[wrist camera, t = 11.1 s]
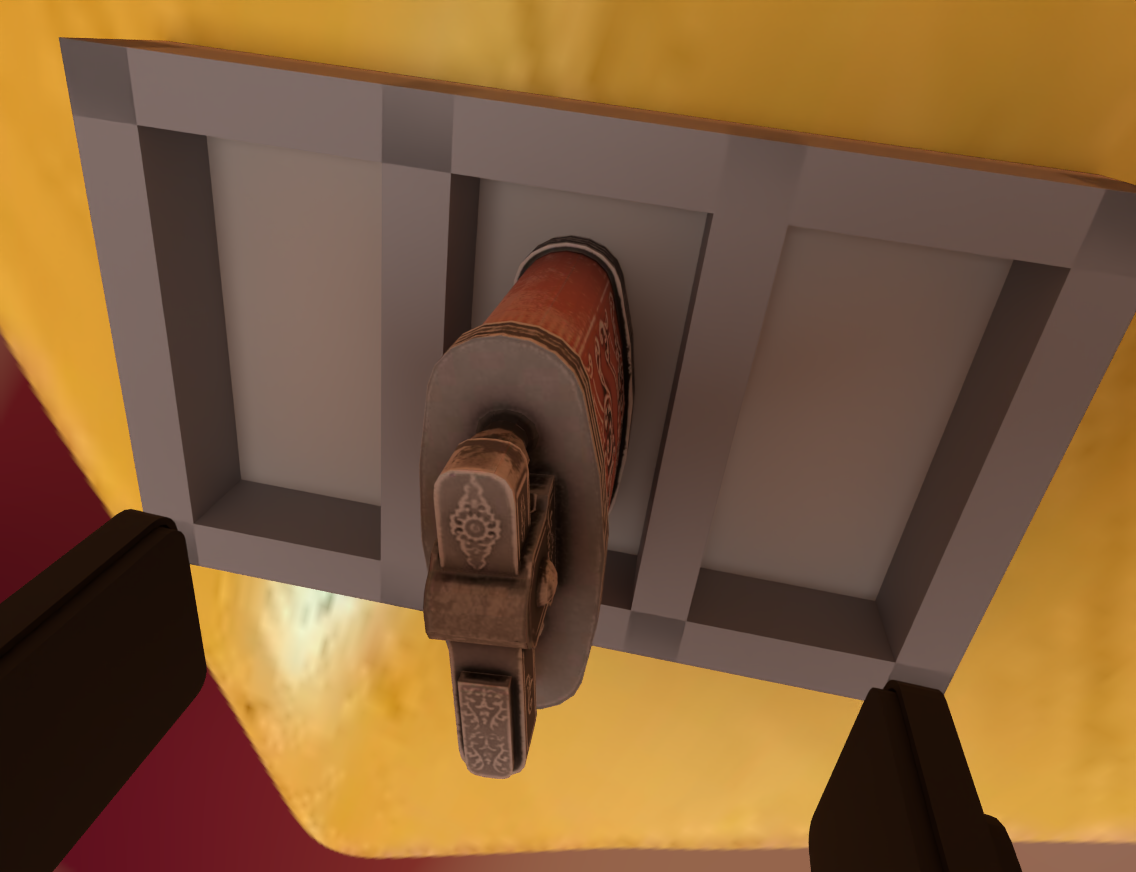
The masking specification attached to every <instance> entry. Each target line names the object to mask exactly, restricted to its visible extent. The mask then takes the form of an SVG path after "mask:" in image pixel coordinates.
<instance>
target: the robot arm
mask: <svg viewBox="0 0 1136 872" xmlns="http://www.w3.org/2000/svg"><path fill="white" fill-rule="evenodd" d="M206 672H207V669H206V661H205V655H204V649H203V643H202V637H201V630H200V624H199V618H198V612H197V606H196V600H195V594H194V588H193V582H192V576H191V570H190V563H189V557H188V551H187V545H186V539H185V536H184V534H183V533H182V532H181V531H178V529H177V526H176V523H175V522H174V521H173V520H172V519H171V518H168V517H164V516H160V515H155V514H151V513H146V512H142V511H137V510H133V509H129V510H124V511H122V512H120V513H119V514H117V515H116V516H114V517H113V518H112V519H110V520H109V521H108V522H106V523H105V524H104V525H103V526H101V527H100V528H99V529H97V530H96V531H95V532H93V533H92V534H91V535H90V536H88V537H87V538H86V539H85V540H83V541H82V542H80V543H79V544H78V545H76V546H75V547H74V548H73V549H71V550H70V551H69V552H67V553H66V554H65V555H63V556H62V557H61V558H59V559H58V560H57V561H56V562H54V563H53V564H52V565H50V566H49V567H48V568H47V569H45V570H44V571H43V572H41V573H40V574H39V575H38V576H36V577H35V578H33V579H32V580H31V581H29V582H28V583H27V584H26V585H24V586H23V587H22V588H20V589H19V590H18V591H16V592H15V593H14V594H12V595H11V596H10V597H9V598H7V599H6V600H5V601H3V602H2V603H1V604H0V872H53V871H54V869H55V868H56V867H57V866H58V865H59V863H60V862H61V861H62V860H63V858H64V857H65V856H66V854H68V852H69V851H70V850H71V849H72V847H73V846H74V845H75V844H76V842H77V841H78V840H79V839H80V838H81V836H82V835H83V834H84V833H85V832H86V830H87V829H88V828H89V827H90V825H91V824H92V823H93V822H94V821H95V819H96V818H97V817H98V816H99V814H100V813H101V812H102V811H103V810H104V808H105V807H106V806H107V804H108V803H109V802H110V801H111V800H112V799H113V797H114V796H115V795H116V794H117V792H118V791H119V790H120V789H121V788H122V786H123V785H124V784H125V783H126V781H127V780H128V779H129V778H130V776H131V775H132V774H133V773H134V772H135V770H136V769H137V768H138V767H139V765H140V764H141V763H142V762H143V761H144V759H145V758H146V757H147V756H148V755H149V753H150V752H151V751H152V750H153V748H154V747H155V746H156V745H157V744H158V742H159V741H160V740H161V739H162V737H163V736H164V735H165V734H166V733H167V731H168V730H169V729H170V728H171V726H172V725H173V724H174V723H175V721H176V720H177V719H178V718H179V717H180V716H181V714H182V713H183V712H184V711H185V709H186V708H187V707H188V706H189V705H190V703H191V702H192V701H193V699H194V698H195V697H196V696H197V694H198V693H199V692H200V690H201V688H202V686H203V684H204V681H205V678H206ZM809 855H810V865H811V872H1022V870H1021V867H1020V864H1019V862H1018V859H1017V856H1016V853H1015V850H1014V848H1013V845H1012V842H1011V840H1010V838H1009V835H1008V833H1007V831H1006V829H1005V827H1004V826H1003V825H1002V824H1001V823H1000V822H999V820H998V819H997V818H995V817H992V816H990V815H986V814H984V812H983V809H982V806H981V803H980V800H979V797H978V794H977V791H976V788H975V785H974V782H973V779H972V776H971V773H970V770H969V767H968V764H967V761H966V758H965V755H964V752H963V749H962V746H961V743H960V740H959V737H958V734H957V731H956V728H955V725H954V722H953V719H952V716H951V713H950V710H949V707H948V704H947V701H946V699H945V697H944V695H943V693H942V692H941V691H940V690H938V689H934V688H929V687H925V686H920V685H916V684H911V683H907V682H902V681H898V680H889V681H888V682H887V683H886V685H885V686H884V688H883V689H879V688H874V687H873V688H871V689H870V690H869V692H868V694H867V696H866V698H865V700H864V703H863V705H862V707H861V709H860V712H859V714H858V716H857V718H856V721H855V723H854V725H853V727H852V730H851V732H850V734H849V736H848V739H847V741H846V743H845V745H844V748H843V750H842V752H841V754H840V757H839V759H838V761H837V763H836V766H835V768H834V770H833V772H832V775H831V777H830V779H829V781H828V783H827V786H826V788H825V790H824V792H823V795H822V797H821V799H820V801H819V804H818V806H817V808H816V810H815V813H814V815H813V818H812V820H811V825H810V831H809Z"/></svg>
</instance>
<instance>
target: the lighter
mask: <svg viewBox="0 0 1136 872" xmlns="http://www.w3.org/2000/svg"><path fill="white" fill-rule="evenodd" d="M634 397H635V370H634V343H633V329H632V323H631V317H630V310H629V304H628V298H627V292H626V286H625V280H624V274H623V271H622V269H621V266H620V264H619V261H618V259H617V258H616V257H615V256H614V255H613V254H612V253H611V252H610V250H609V249H608V248H607V247H605V246H604V245H602V244H600V243H598V242H596V241H594V240H592V239H591V238H586V237H580V236H575V235H568V236H560V237H554V238H551V239H549V240H547V241H545V242H543V243H541V244H539V245H538V246H537V247H536V248H535V249H534V250H533V251H532V252H531V253H530V254H529V255H528V256H527V257H526V259H525V260H524V261H523V262H522V263H521V264H520V266H519V269H518V271H517V274H516V276H515V279H514V285H513V287H512V288H511V290H510V291H509V292H508V293H507V295H506V296H505V297H504V298H503V300H502V301H501V302H500V303H499V305H498V306H497V307H496V308H495V310H494V311H493V312H492V313H491V314H490V316H489V317H488V318H487V319H486V321H485V322H484V323H483V324H482V325H481V326H478V327H476V328H474V329H472V330H470V331H468V332H465V333H463V334H462V335H461V336H460V337H459V338H458V339H457V340H456V342H455V343H454V344H453V345H452V346H451V347H450V348H449V349H448V350H447V351H446V352H445V353H444V355H443V356H442V357H441V358H440V359H439V360H438V362H437V363H436V364H435V365H434V368H433V370H432V373H431V376H430V379H429V382H428V385H427V393H426V402H425V412H424V422H423V431H422V441H421V451H420V460H419V477H420V508H421V540H422V545H423V550H424V555H425V560H426V565H427V571H428V576H427V579H426V584H425V590H424V602H423V613H424V621H425V630H426V633H427V635H428V637H429V639H438V640H446V643H447V646H448V649H449V656H450V666H451V676H452V685H453V695H454V705H455V715H456V725H457V735H458V744H459V751H460V755H461V758H462V760H463V761H464V762H465V763H466V766H467V769H468V770H469V771H470V772H471V773H473V774H475V775H478V776H482V777H488V778H497V779H505V778H509V777H510V776H511V775H512V774H515V773H519V772H520V771H521V770H522V769H523V768H524V767H525V763H526V759H527V755H528V751H529V747H530V743H531V739H532V734H533V730H534V726H535V722H536V716H537V709H543V708H547V707H551V706H555V705H559V704H561V703H563V702H564V701H566V700H567V699H569V698H570V697H572V696H573V695H574V694H575V693H576V691H577V689H578V688H579V686H580V684H581V683H582V679H583V676H584V672H585V668H586V664H587V661H588V657H589V653H590V650H591V646H592V642H593V639H594V635H595V631H596V627H597V623H598V617H599V612H600V606H601V600H602V591H603V582H604V573H605V564H606V555H607V546H608V537H609V524H608V516H609V514H610V512H611V510H612V508H613V507H614V504H615V500H616V496H617V493H618V489H619V485H620V481H621V477H622V473H623V469H624V465H625V462H626V458H627V452H628V446H629V439H630V431H631V422H632V414H633V405H634Z"/></svg>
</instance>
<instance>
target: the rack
mask: <svg viewBox="0 0 1136 872" xmlns="http://www.w3.org/2000/svg"><path fill="white" fill-rule="evenodd" d="M59 41H60V47H61V53H62V58H63V64H64V69H65V75H66V81H67V86H68V92H69V97H70V103H71V109H72V114H73V120H74V125H75V131H76V137H77V142H78V148H79V153H80V159H81V165H82V170H83V176H84V182H85V187H86V193H87V198H88V204H89V210H90V215H91V221H92V226H93V232H94V238H95V243H96V249H97V254H98V260H99V266H100V271H101V277H102V282H103V288H104V294H105V299H106V305H107V311H108V316H109V322H110V327H111V333H112V339H113V344H114V350H115V355H116V361H117V367H118V372H119V378H120V383H121V389H122V395H123V400H124V406H125V411H126V417H127V423H128V428H129V434H130V440H131V445H132V451H133V456H134V462H135V468H136V473H137V479H138V484H139V490H140V496H141V501H142V507H143V512H146V513H151V514H155V515H160V516H164V517H168V518H171V519H172V520H173V521H174V522H175V523H176V526H177V529H178V531H181V532H182V533H183V534H184V536H185V539H186V545H187V551H188V557H189V563H190V564H192V565H197V566H202V567H207V568H212V569H217V570H222V571H227V572H232V573H237V574H242V575H247V576H252V577H257V578H262V579H266V580H271V581H276V582H281V583H286V584H291V585H296V586H301V587H306V588H311V589H316V590H321V591H326V592H331V593H336V594H341V595H345V596H350V597H355V598H360V599H365V600H370V601H375V602H380V603H385V604H390V605H395V606H400V607H405V608H410V609H415V610H419V611H423V602H424V590H425V584H426V579H427V576H428V571H427V565H426V560H425V555H424V550H423V545H422V540H421V508H420V477H419V460H420V451H421V441H422V431H423V422H424V412H425V402H426V393H427V385H428V382H429V379H430V376H431V373H432V370H433V368H434V365H435V364H436V363H437V362H438V360H439V359H440V358H441V357H442V356H443V355H444V353H445V352H446V351H447V350H448V349H449V348H450V347H451V346H452V345H453V344H454V343H455V342H456V340H457V339H458V338H459V337H460V336H461V335H462V334H463V333H465V332H468V331H470V330H472V329H474V328H476V327H478V326H481V325H482V324H483V323H484V322H485V321H486V319H487V318H488V317H489V316H490V314H491V313H492V312H493V311H494V310H495V308H496V307H497V306H498V305H499V303H500V302H501V301H502V300H503V298H504V297H505V296H506V295H507V293H508V292H509V291H510V290H511V288H512V287H513V285H514V279H515V276H516V274H517V271H518V269H519V266H520V264H521V263H522V262H523V261H524V260H525V259H526V257H527V256H528V255H529V254H530V253H531V252H532V251H533V250H534V249H535V248H536V247H537V246H538V245H539V244H541V243H543V242H545V241H547V240H549V239H551V238H554V237H560V236H568V235H575V236H580V237H586V238H591V239H592V240H594V241H596V242H598V243H600V244H602V245H604V246H605V247H607V248H608V249H609V250H610V252H611V253H612V254H613V255H614V256H615V257H616V258H617V259H618V261H619V264H620V266H621V269H622V271H623V274H624V280H625V286H626V292H627V298H628V304H629V310H630V317H631V323H632V329H633V343H634V370H635V397H634V405H633V414H632V422H631V431H630V439H629V446H628V452H627V458H626V462H625V465H624V469H623V473H622V477H621V481H620V485H619V489H618V493H617V496H616V500H615V504H614V507H613V508H612V510H611V512H610V514H609V516H608V524H609V537H608V546H607V555H606V564H605V573H604V582H603V591H602V600H601V606H600V612H599V617H598V623H597V627H596V631H595V635H594V639H593V642H592V646H597V647H602V648H607V649H612V650H617V651H622V652H627V653H632V654H637V655H642V656H647V657H652V658H656V659H661V660H666V661H671V662H676V663H681V664H686V665H691V666H696V667H701V668H706V669H711V670H716V671H721V672H726V673H730V674H735V675H740V676H745V677H750V678H755V679H760V680H765V681H770V682H775V683H780V684H785V685H790V686H795V687H800V688H805V689H809V690H814V691H819V692H824V693H829V694H834V695H839V696H844V697H849V698H854V699H859V700H865V698H866V696H867V694H868V692H869V690H870V689H871V688H873V687H874V688H879V689H883V688H884V686H885V685H886V683H887V682H888V681H889V680H898V681H902V682H907V683H911V684H916V685H920V686H925V687H929V688H934V689H938V690H940V691H941V692H942V693H943V695H944V693H945V691H946V689H947V687H948V685H949V683H950V681H951V679H952V677H953V675H954V673H955V671H956V669H957V667H958V665H959V663H960V661H961V659H962V657H963V655H964V653H965V651H966V650H967V648H968V646H969V644H970V642H971V640H972V638H973V636H974V634H975V632H976V630H977V628H978V626H979V624H980V622H981V620H982V618H983V616H984V614H985V612H986V610H987V608H988V606H989V604H990V602H991V600H992V598H993V596H994V594H995V592H996V590H997V588H998V586H999V584H1000V582H1001V580H1002V578H1003V576H1004V574H1005V572H1006V570H1007V568H1008V566H1009V564H1010V562H1011V560H1012V558H1013V556H1014V554H1015V552H1016V550H1017V548H1018V546H1019V544H1020V542H1021V540H1022V538H1023V536H1024V534H1025V532H1026V530H1027V528H1028V526H1029V524H1030V522H1031V520H1032V518H1033V516H1034V514H1035V512H1036V510H1037V508H1038V506H1039V504H1040V502H1041V500H1042V498H1043V496H1044V494H1045V492H1046V490H1047V488H1048V486H1049V484H1050V482H1051V480H1052V478H1053V476H1054V474H1055V472H1056V470H1057V468H1058V466H1059V464H1060V462H1061V460H1062V458H1063V456H1064V454H1065V452H1066V450H1067V448H1068V446H1069V444H1070V442H1071V440H1072V438H1073V436H1074V434H1075V432H1076V430H1077V428H1078V426H1079V424H1080V422H1081V420H1082V418H1083V416H1084V414H1085V412H1086V410H1087V408H1088V406H1089V404H1090V402H1091V400H1092V398H1093V396H1094V394H1095V392H1096V390H1097V388H1098V386H1099V384H1100V382H1101V380H1102V378H1103V376H1104V374H1105V372H1106V370H1107V368H1108V366H1109V364H1110V362H1111V360H1112V358H1113V356H1114V354H1115V352H1116V350H1117V348H1118V346H1119V344H1120V342H1121V340H1122V338H1123V336H1124V334H1125V332H1126V330H1127V328H1128V326H1129V324H1130V322H1131V320H1132V318H1133V316H1134V314H1135V312H1136V185H1133V184H1129V183H1126V182H1122V181H1119V180H1116V179H1112V178H1109V177H1105V176H1102V175H1097V174H1090V173H1083V172H1076V171H1069V170H1062V169H1055V168H1048V167H1041V166H1034V165H1027V164H1020V163H1013V162H1006V161H999V160H992V159H985V158H978V157H971V156H964V155H957V154H950V153H943V152H936V151H929V150H922V149H915V148H908V147H901V146H894V145H887V144H881V143H874V142H867V141H860V140H853V139H846V138H839V137H832V136H825V135H818V134H811V133H804V132H797V131H790V130H783V129H776V128H769V127H762V126H755V125H748V124H741V123H734V122H727V121H720V120H713V119H706V118H699V117H692V116H685V115H678V114H671V113H664V112H657V111H651V110H644V109H637V108H630V107H623V106H616V105H609V104H602V103H595V102H588V101H581V100H574V99H567V98H560V97H553V96H546V95H539V94H532V93H525V92H518V91H511V90H504V89H497V88H490V87H483V86H476V85H469V84H462V83H455V82H448V81H441V80H434V79H427V78H420V77H414V76H407V75H400V74H393V73H386V72H379V71H372V70H365V69H358V68H351V67H344V66H337V65H330V64H323V63H316V62H309V61H302V60H295V59H288V58H281V57H274V56H267V55H260V54H253V53H246V52H239V51H232V50H225V49H218V48H211V47H204V46H197V45H190V44H184V43H177V42H170V41H155V40H124V39H93V38H62V37H59Z"/></svg>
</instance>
